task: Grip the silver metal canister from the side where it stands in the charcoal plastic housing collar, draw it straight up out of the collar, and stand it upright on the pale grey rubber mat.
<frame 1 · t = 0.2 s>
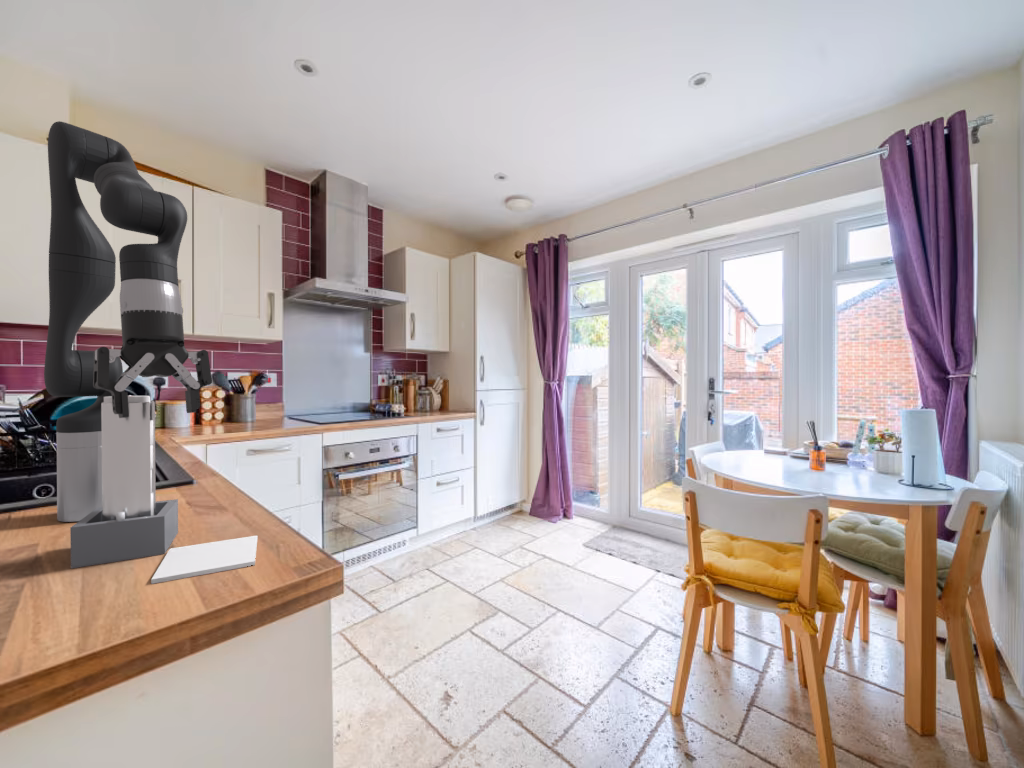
hand: (159, 415, 67), 22 cm above the counter, tool pointing down, fingers open, 8 cm apart
rubber mat: (210, 558, 66), on the counter
silver metal canister: (130, 549, 70), resting in housing collar
housing collar: (130, 548, 70), on the counter
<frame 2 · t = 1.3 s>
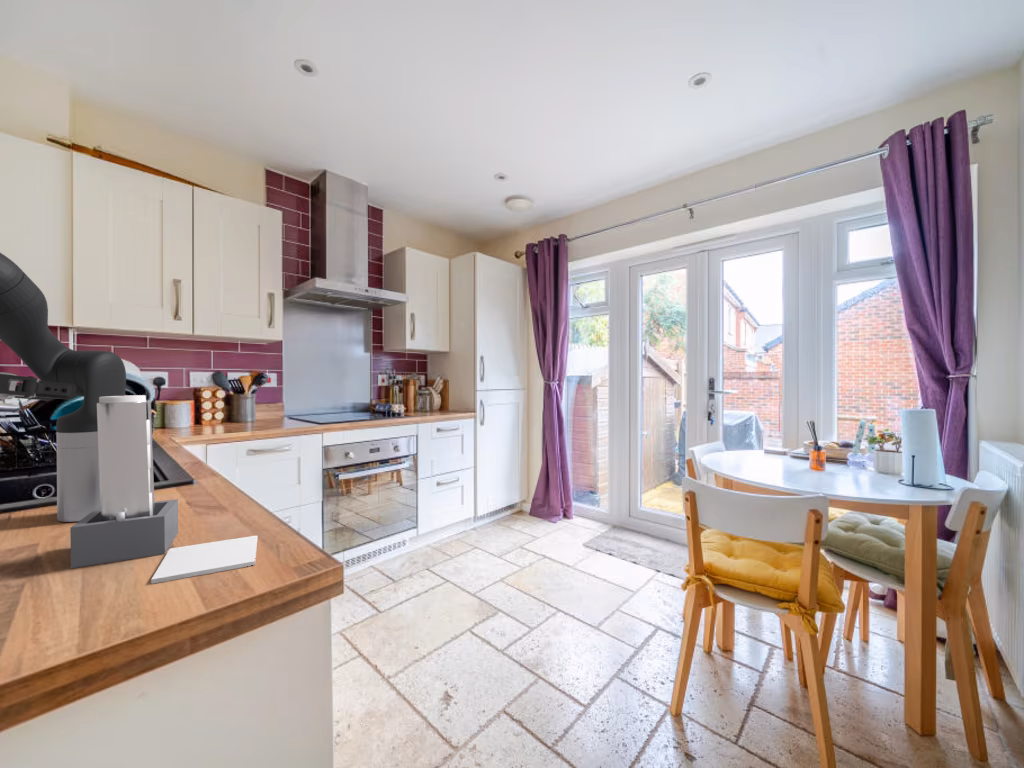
hand: (63, 392, 63), 26 cm above the counter, tool horizontal, fingers open, 8 cm apart
nothing on the counter moved.
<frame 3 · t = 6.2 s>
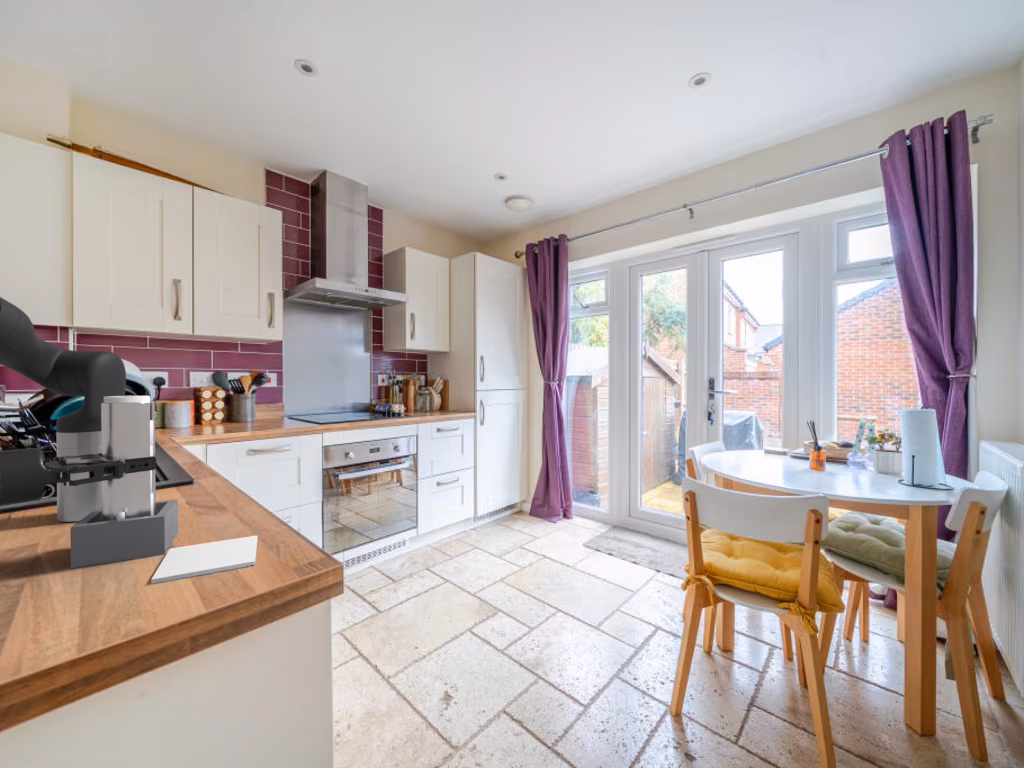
hand: (149, 460, 71), 14 cm above the counter, tool horizontal, fingers closed on silver metal canister, 5 cm apart
silver metal canister: (130, 549, 70), resting in housing collar, touching gripper
when the fingers open (16 cm above the counter, at t = 12.8 s): silver metal canister stays where it is, resting on rubber mat.
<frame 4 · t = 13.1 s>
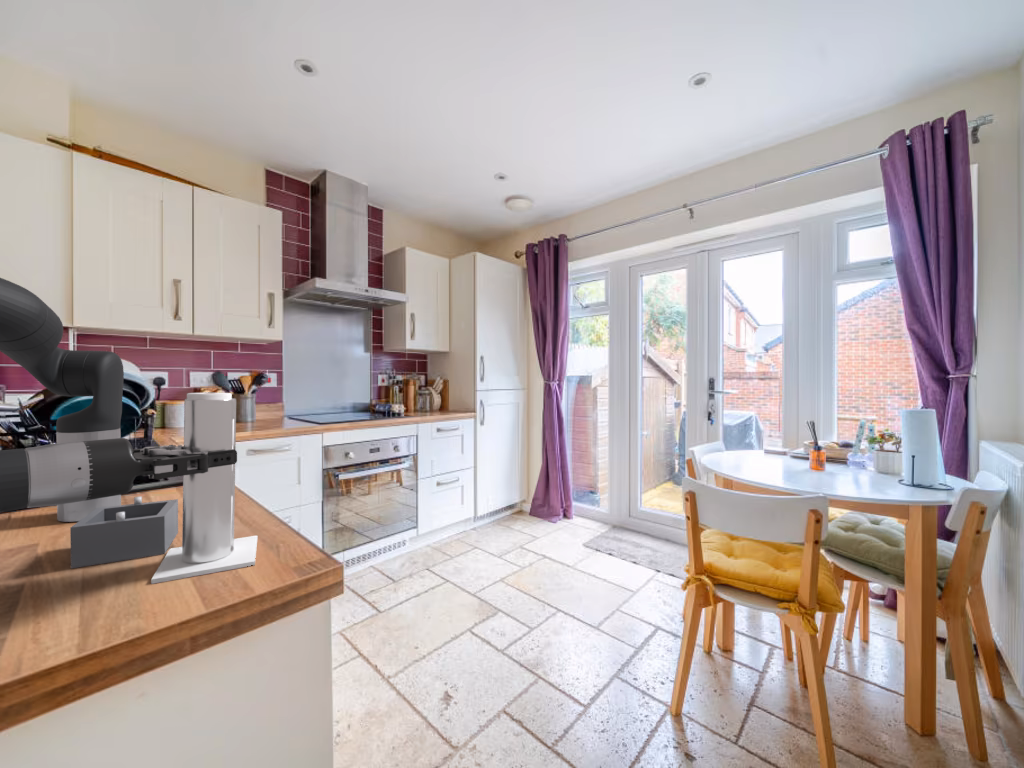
hand: (224, 453, 67), 16 cm above the counter, tool horizontal, fingers open, 8 cm apart
silver metal canister: (208, 555, 66), resting on rubber mat
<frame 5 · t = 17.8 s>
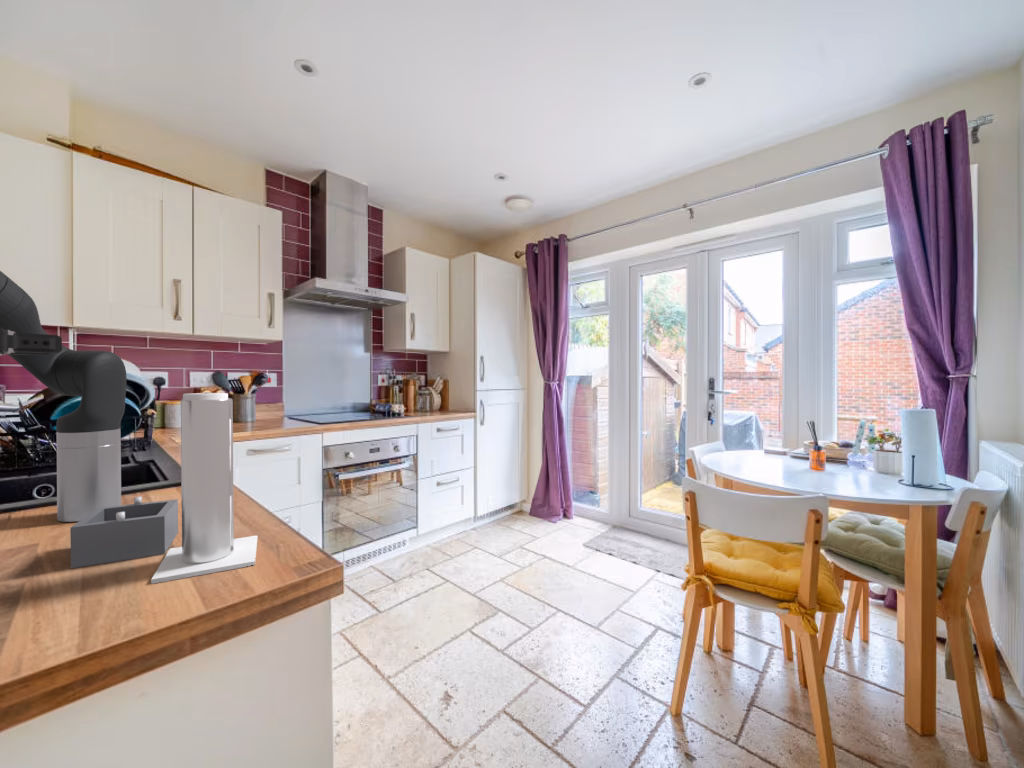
hand: (55, 345, 56), 32 cm above the counter, tool horizontal, fingers open, 8 cm apart
nothing on the counter moved.
at the end: silver metal canister inside the target area on the rubber mat (0.3 cm from its centre), point 0.4 cm above the rubber mat's base; silver metal canister tilted 0°; the gripper is holding nothing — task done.
